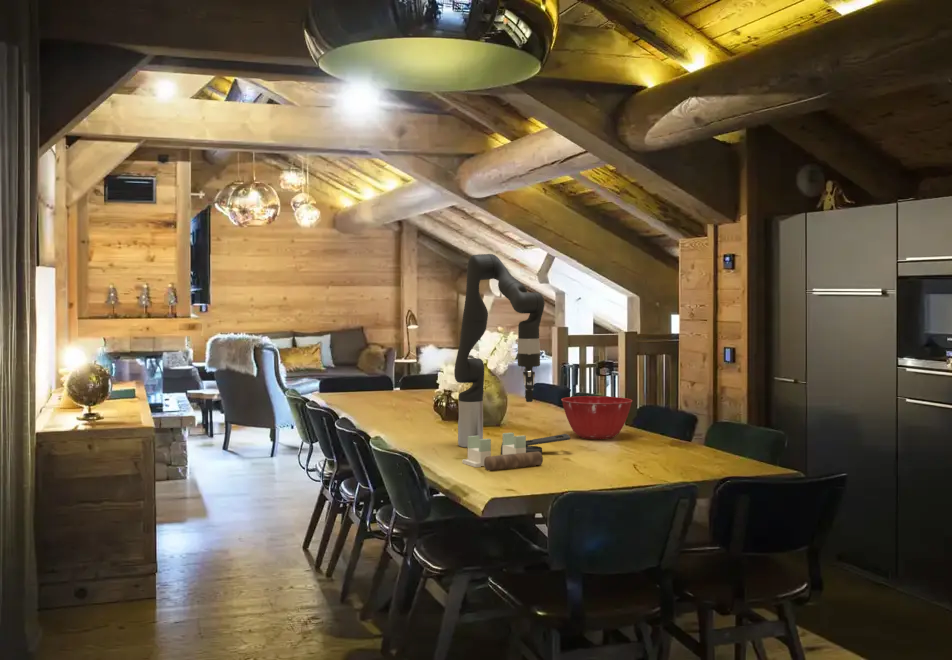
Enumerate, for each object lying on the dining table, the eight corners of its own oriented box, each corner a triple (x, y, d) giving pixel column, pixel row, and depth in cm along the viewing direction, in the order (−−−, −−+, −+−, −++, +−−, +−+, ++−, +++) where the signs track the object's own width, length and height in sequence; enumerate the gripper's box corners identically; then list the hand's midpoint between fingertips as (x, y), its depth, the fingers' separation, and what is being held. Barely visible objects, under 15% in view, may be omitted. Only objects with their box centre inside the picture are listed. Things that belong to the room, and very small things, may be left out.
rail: (491, 472, 300) (491, 457, 300) (484, 470, 304) (484, 455, 304) (542, 466, 310) (542, 452, 310) (534, 464, 314) (534, 450, 314)
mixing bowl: (561, 431, 388) (561, 394, 387) (629, 432, 385) (629, 395, 385) (560, 442, 360) (561, 402, 359) (634, 443, 357) (635, 403, 356)
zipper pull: (571, 437, 330) (502, 438, 328) (571, 455, 331) (502, 456, 328) (567, 433, 339) (499, 434, 337) (566, 451, 340) (499, 452, 337)
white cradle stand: (475, 467, 307) (475, 440, 307) (462, 463, 315) (462, 436, 314) (530, 461, 318) (530, 435, 318) (516, 457, 326) (516, 432, 325)
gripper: (517, 351, 315) (517, 398, 316) (517, 353, 301) (518, 402, 302) (539, 350, 315) (539, 398, 316) (540, 353, 301) (541, 402, 301)
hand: (528, 400), depth 309 cm, fingers open, 8 cm apart
